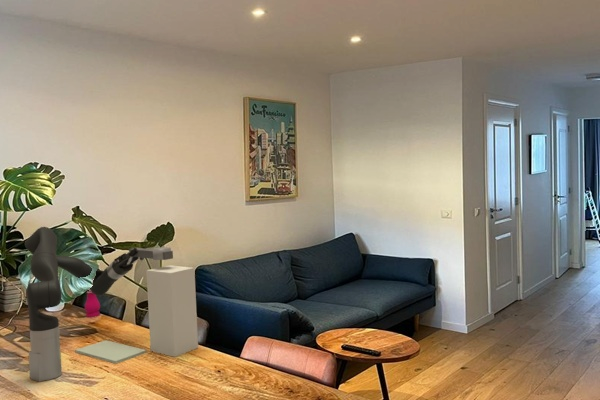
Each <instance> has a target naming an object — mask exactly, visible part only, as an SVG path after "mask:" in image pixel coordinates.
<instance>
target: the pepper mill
mask: <svg viewBox="0 0 600 400" xmlns="http://www.w3.org/2000/svg"><path fill="white" fill-rule="evenodd" d="M86 295H87V297H86V301H85V303H84V310H85V311H86V312H85V316H86V317H87V318H96V317H98V315H99V316H100V311H99V310H100V309H101V304H100V301H99V300H98V297H97V295H95V294H93V293H92V292H91V289H90V290H89V291H87V292H86ZM95 316H96V317H95Z"/></svg>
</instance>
